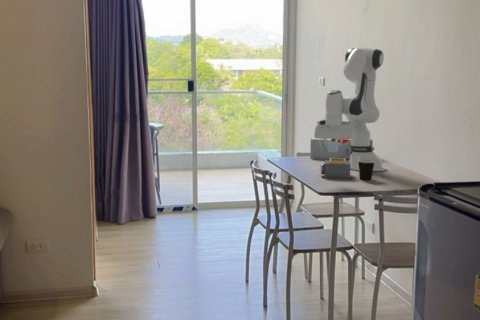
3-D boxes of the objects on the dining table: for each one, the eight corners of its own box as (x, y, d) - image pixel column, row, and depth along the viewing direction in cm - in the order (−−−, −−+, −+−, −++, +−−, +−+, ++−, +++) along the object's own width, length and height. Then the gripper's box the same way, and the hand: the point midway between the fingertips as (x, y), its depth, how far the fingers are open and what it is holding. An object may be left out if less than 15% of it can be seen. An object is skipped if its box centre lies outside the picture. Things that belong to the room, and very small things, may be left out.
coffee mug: (370, 181, 314) (371, 163, 312) (355, 179, 319) (355, 161, 317) (377, 178, 324) (378, 160, 322) (362, 176, 328) (363, 158, 327)
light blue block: (337, 150, 313) (337, 137, 312) (337, 151, 308) (338, 138, 307) (328, 150, 314) (328, 137, 313) (328, 151, 309) (328, 138, 308)
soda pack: (371, 157, 393) (371, 136, 390) (372, 160, 380) (373, 139, 378) (310, 155, 399) (310, 135, 396) (309, 158, 386) (310, 138, 384)
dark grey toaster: (349, 174, 333) (349, 158, 331) (350, 178, 322) (350, 161, 320) (320, 173, 335) (321, 157, 333) (320, 177, 324) (321, 160, 323)
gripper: (353, 120, 310) (352, 146, 313) (314, 120, 313) (314, 145, 315) (353, 122, 304) (353, 148, 306) (314, 121, 307) (313, 147, 309)
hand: (333, 147), depth 311 cm, fingers closed on light blue block, 5 cm apart
